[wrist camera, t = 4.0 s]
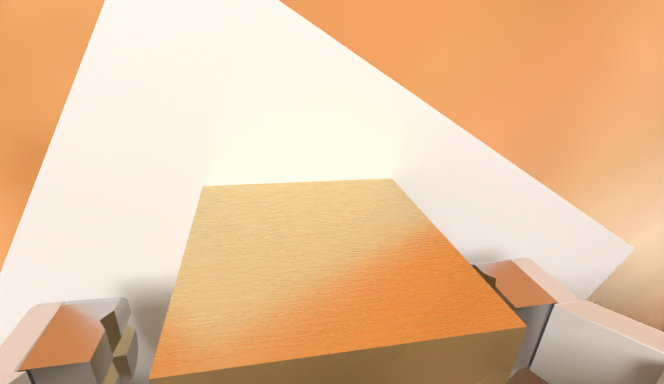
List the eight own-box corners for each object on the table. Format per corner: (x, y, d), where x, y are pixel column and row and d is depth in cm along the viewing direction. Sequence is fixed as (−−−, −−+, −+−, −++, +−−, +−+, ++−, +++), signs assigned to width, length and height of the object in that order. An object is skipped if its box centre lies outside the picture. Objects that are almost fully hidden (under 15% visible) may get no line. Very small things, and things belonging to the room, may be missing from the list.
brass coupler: (391, 178, 9) (562, 366, 4) (375, 316, 11) (479, 559, 6) (202, 186, 8) (131, 438, 3) (219, 335, 10) (191, 640, 5)
